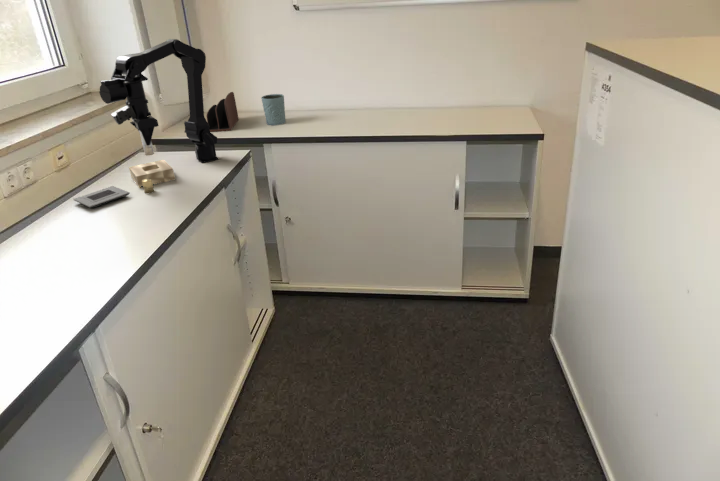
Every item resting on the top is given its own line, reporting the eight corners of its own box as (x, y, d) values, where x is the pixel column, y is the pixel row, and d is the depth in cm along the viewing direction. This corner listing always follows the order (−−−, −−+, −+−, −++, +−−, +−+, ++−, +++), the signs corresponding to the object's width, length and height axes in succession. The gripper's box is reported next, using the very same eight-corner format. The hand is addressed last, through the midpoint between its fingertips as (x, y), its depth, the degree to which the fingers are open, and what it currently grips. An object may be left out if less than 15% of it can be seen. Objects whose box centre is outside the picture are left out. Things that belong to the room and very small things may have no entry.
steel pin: (152, 152, 184) (146, 123, 180) (155, 154, 182) (148, 125, 177) (143, 154, 183) (136, 124, 178) (146, 156, 180) (139, 126, 176)
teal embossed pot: (277, 126, 240) (273, 99, 234) (260, 124, 244) (256, 97, 239) (291, 121, 247) (288, 94, 242) (274, 119, 252) (271, 93, 247)
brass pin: (153, 189, 178) (150, 177, 176) (155, 192, 176) (152, 180, 174) (143, 191, 176) (140, 180, 175) (145, 194, 174) (142, 182, 172)
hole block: (166, 170, 194) (163, 159, 192) (175, 179, 185) (172, 168, 183) (131, 177, 189) (128, 167, 187) (139, 187, 180) (136, 176, 178)
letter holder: (238, 119, 255) (234, 89, 249) (231, 131, 237) (225, 99, 231) (217, 120, 255) (212, 90, 248) (208, 132, 237) (202, 100, 231)
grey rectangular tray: (114, 191, 179) (112, 184, 178) (131, 198, 173) (129, 191, 172) (75, 205, 170) (73, 198, 169) (91, 212, 164) (89, 205, 163)
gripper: (104, 96, 177) (116, 142, 184) (115, 106, 163) (128, 155, 170) (139, 91, 182) (149, 136, 189) (153, 100, 168) (164, 148, 175)
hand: (147, 143), depth 181 cm, fingers closed on steel pin, 3 cm apart
